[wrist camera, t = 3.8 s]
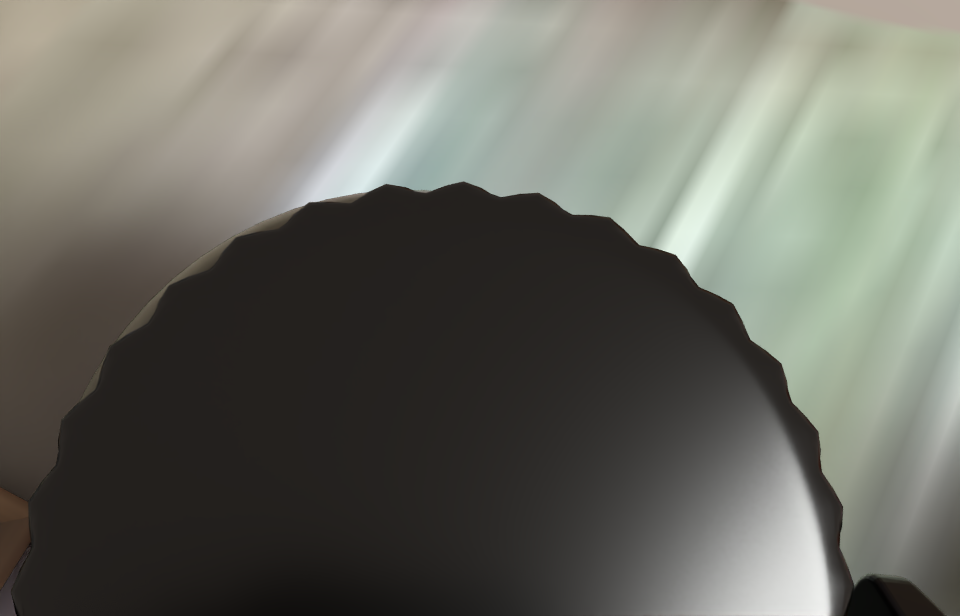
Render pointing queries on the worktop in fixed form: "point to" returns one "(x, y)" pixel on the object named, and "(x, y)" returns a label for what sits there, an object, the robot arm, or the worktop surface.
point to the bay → (12, 532)
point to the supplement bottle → (435, 432)
